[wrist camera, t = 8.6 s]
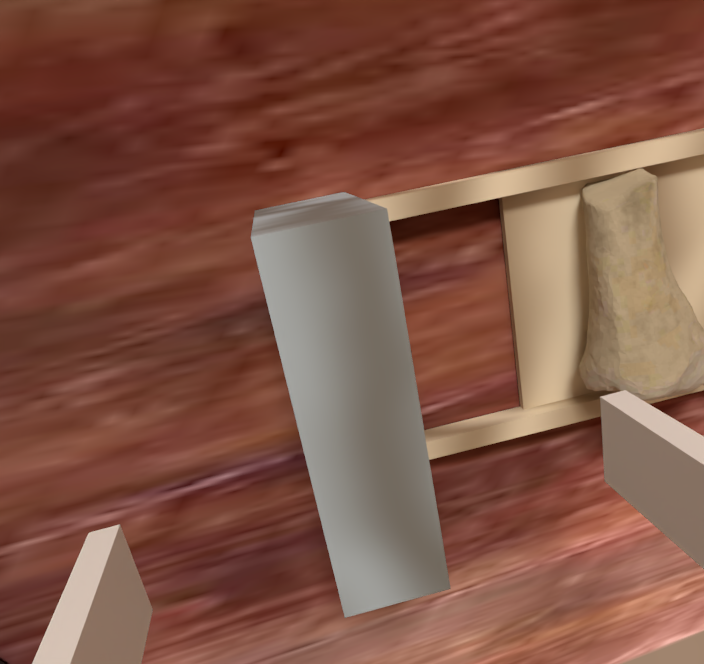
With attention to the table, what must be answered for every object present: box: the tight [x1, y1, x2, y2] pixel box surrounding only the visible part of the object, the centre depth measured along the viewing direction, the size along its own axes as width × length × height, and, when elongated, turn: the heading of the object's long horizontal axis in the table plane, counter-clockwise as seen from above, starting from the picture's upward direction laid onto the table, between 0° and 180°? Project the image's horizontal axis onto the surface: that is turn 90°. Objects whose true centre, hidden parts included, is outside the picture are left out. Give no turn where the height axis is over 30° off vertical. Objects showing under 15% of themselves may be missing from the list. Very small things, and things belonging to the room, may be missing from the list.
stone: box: [579, 169, 704, 401], centre depth 25 cm, size 11×6×5 cm, turn 28°
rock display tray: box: [251, 128, 704, 618], centre depth 23 cm, size 23×14×9 cm, turn 101°
